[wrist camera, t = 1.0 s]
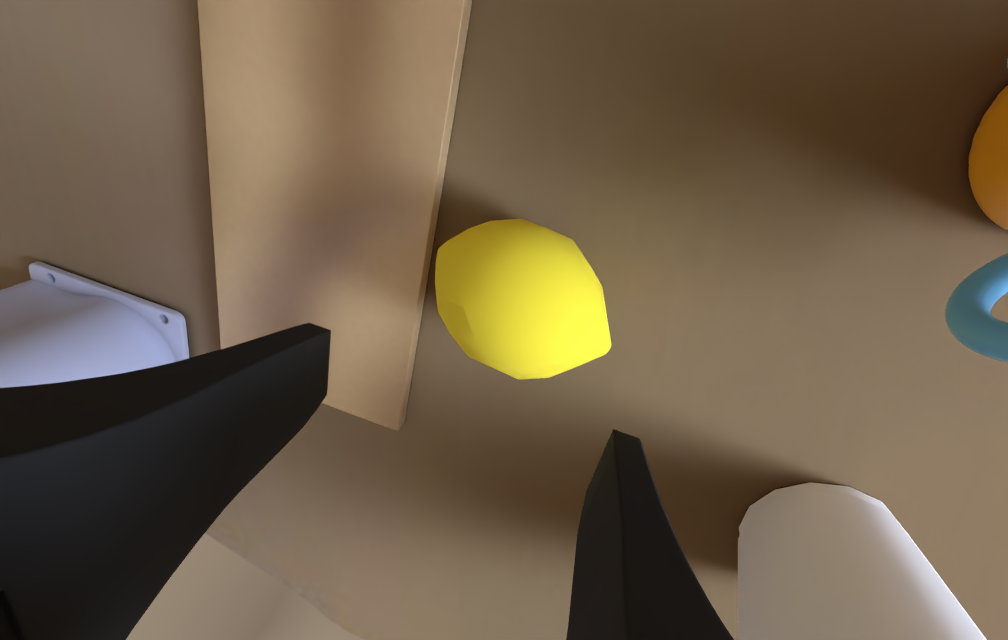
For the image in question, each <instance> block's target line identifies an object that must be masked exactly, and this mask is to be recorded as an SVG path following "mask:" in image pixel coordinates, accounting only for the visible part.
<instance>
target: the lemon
mask: <svg viewBox="0 0 1008 640" xmlns="http://www.w3.org/2000/svg"><path fill="white" fill-rule="evenodd" d="M435 288H436V298H437V308H438V313H439V314H440V316H441V318H442V320H443V322H444V324H445V325H446V327H447V329H448V331H449V333H450V334H451V335H452V337H453V338H454V339H455V340H456V342H457V343H458V344H459V345H460V347H461V348H462V349H463V351H464V352H465V353H466V354H467V356H468V357H470V358H473V359H475V360H477V361H479V362H481V363H483V364H486V365H488V366H490V367H492V368H494V369H497V370H499V371H501V372H503V373H505V374H508V375H510V376H512V377H514V378H516V379H535V378H549V377H552V376H554V375H557V374H560V373H562V372H565V371H568V370H570V369H572V368H575V367H577V366H580V365H582V364H584V363H587V362H589V361H591V360H594V359H596V358H598V357H601V356H603V355H605V354H606V353H607V352H608V351H609V349H610V347H611V339H610V333H609V326H608V320H607V313H606V307H605V301H604V295H603V288H602V285H601V284H600V282H599V280H598V278H597V277H596V275H595V273H594V271H593V270H592V268H591V266H590V265H589V263H588V262H587V260H586V259H585V257H584V256H583V254H582V253H581V251H580V250H579V248H578V247H577V245H576V244H575V242H574V241H573V240H572V239H570V238H568V237H565V236H563V235H561V234H559V233H557V232H554V231H552V230H550V229H548V228H545V227H543V226H540V225H537V224H534V223H532V222H529V221H526V220H523V219H508V220H495V221H489V222H486V223H483V224H480V225H477V226H474V227H471V228H469V229H467V230H465V231H464V232H462V233H460V234H458V235H457V236H455V237H453V238H451V239H450V240H448V241H447V242H445V243H444V244H443V245H442V246H441V247H440V248H439V249H438V252H437V257H436V269H435Z"/></svg>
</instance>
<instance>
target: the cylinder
mask: <svg viewBox="0 0 1008 640" xmlns="http://www.w3.org/2000/svg"><path fill="white" fill-rule="evenodd" d="M1007 67H1008V58H1007ZM969 179H970V184H971V188H972V192H973V195H974V197H975V199H976V201H977V203H978V205H979V206H980V208H981V209H982V211H983V212H984V213H985V214H986V215H987V216H988V217H989V218H990V219H991V220H992V221H993V222H994V223H996V224H997V225H999V226H1000V227H1002V228H1003V229H1005V230H1007V231H1008V85H1007V86H1006V87H1005V88H1004V89H1003V90H1002V91H1001V92H1000V93H999V94H998V96H997V97H996V99H995V100H994V102H993V103H992V105H991V106H990V107H989V109H988V110H987V111H986V113H985V114H984V116H983V118H982V120H981V122H980V125H979V127H978V129H977V131H976V133H975V135H974V138H973V142H972V147H971V150H970V154H969ZM1007 292H1008V254H1005V255H1003V256H1001V257H999V258H997V259H995V260H993V261H991V262H989V263H987V264H986V265H984V266H982V267H981V268H979V269H978V270H976V271H975V272H973V273H972V274H971V275H969V276H968V277H967V278H966V279H964V280H963V281H962V282H961V283H960V284H959V285H958V286H957V288H956V289H955V290H954V291H953V293H952V294H951V296H950V298H949V300H948V303H947V306H946V322H947V325H948V327H949V329H950V331H951V332H952V334H953V335H954V336H955V337H956V338H957V339H958V340H959V341H960V342H961V343H962V344H964V345H965V346H967V347H968V348H970V349H972V350H973V351H975V352H977V353H980V354H982V355H985V356H987V357H990V358H993V359H997V360H1000V361H1004V362H1008V323H1005V322H1002V321H1000V320H998V319H996V318H994V317H993V316H992V315H991V308H992V306H993V305H994V303H995V302H996V301H997V300H998V299H999V298H1001V297H1002V296H1003V295H1004V294H1006V293H1007Z"/></svg>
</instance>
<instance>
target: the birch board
mask: <svg viewBox="0 0 1008 640" xmlns="http://www.w3.org/2000/svg"><path fill="white" fill-rule="evenodd" d="M197 3H198V18H199V33H200V47H201V62H202V77H203V92H204V107H205V122H206V137H207V151H208V166H209V181H210V196H211V211H212V226H213V241H214V255H215V270H216V285H217V300H218V315H219V330H220V345H221V349H224V348H228V347H231V346H234V345H237V344H240V343H244V342H247V341H250V340H253V339H256V338H259V337H263V336H266V335H269V334H272V333H275V332H278V331H281V330H284V329H288V328H291V327H294V326H298V325H302V324H306V323H312V324H315V325H317V326H320V327H323V328H326V329H329V330H331V340H330V356H329V373H328V389H327V396H326V397H325V398H324V400H323V401H322V403H323V404H325V405H328V406H331V407H334V408H336V409H339V410H342V411H344V412H347V413H350V414H352V415H355V416H358V417H360V418H363V419H366V420H368V421H371V422H374V423H377V424H379V425H382V426H385V427H387V428H390V429H393V430H395V431H399V429H400V428H401V426H402V425H403V424H404V422H405V416H406V410H407V404H408V397H409V391H410V385H411V379H412V373H413V366H414V360H415V354H416V348H417V342H418V335H419V329H420V323H421V317H422V311H423V304H424V298H425V292H426V286H427V280H428V273H429V267H430V261H431V255H432V249H433V242H434V236H435V230H436V224H437V217H438V211H439V205H440V199H441V193H442V186H443V180H444V174H445V168H446V162H447V155H448V149H449V143H450V137H451V131H452V124H453V118H454V112H455V106H456V100H457V93H458V87H459V81H460V75H461V69H462V62H463V56H464V50H465V44H466V38H467V31H468V25H469V19H470V13H471V6H472V0H197Z"/></svg>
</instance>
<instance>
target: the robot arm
mask: <svg viewBox="0 0 1008 640" xmlns="http://www.w3.org/2000/svg"><path fill="white" fill-rule="evenodd" d="M29 273H30V276H31V280H28V281H25V282H22V283H20V284H17V285H14V286H11V287H8V288H5V289H2V290H0V640H126V638H127V637H128V635H129V634H130V632H131V631H132V629H133V628H134V626H135V625H136V624H137V622H138V621H139V620H140V618H141V617H142V615H143V614H144V613H145V611H146V610H147V609H148V607H149V606H150V604H151V603H152V602H153V600H154V599H155V597H156V596H157V595H158V593H159V592H160V590H161V589H162V588H163V586H164V585H165V584H166V582H167V581H168V580H169V578H170V577H171V575H172V574H173V573H174V572H175V570H176V569H177V568H178V567H179V565H180V564H181V563H182V561H183V560H184V559H185V557H186V556H187V555H188V553H189V552H190V551H191V550H192V548H193V547H194V546H195V544H196V543H197V542H198V541H199V539H200V538H201V537H202V535H203V534H204V533H205V532H206V531H207V529H208V528H209V527H210V526H211V524H212V523H213V522H214V521H215V520H216V518H217V517H218V516H219V515H220V513H221V512H222V511H223V510H224V508H225V507H226V506H227V505H228V504H229V503H230V502H231V501H232V500H233V498H234V497H235V496H236V495H237V494H238V493H239V492H240V491H241V490H242V489H243V488H244V487H245V486H246V485H247V484H248V483H249V482H250V481H251V480H252V479H253V478H254V477H255V476H256V475H257V474H258V473H259V472H260V471H261V470H262V469H263V468H264V467H265V466H266V465H267V464H268V463H269V462H270V461H271V459H272V458H273V457H274V456H275V455H276V454H277V453H278V452H279V451H280V450H281V449H282V448H283V447H284V446H285V445H286V444H287V443H288V442H289V441H290V440H291V439H292V438H293V437H294V436H295V435H296V434H297V433H298V432H299V431H300V430H301V429H302V428H303V427H304V425H305V424H306V423H307V421H308V420H309V419H310V418H311V416H312V415H313V414H314V412H315V411H316V410H317V408H318V407H319V405H320V404H321V403H322V401H323V400H324V398H325V397H326V396H327V389H328V373H329V356H330V340H331V330H329V329H326V328H323V327H320V326H317V325H315V324H312V323H306V324H302V325H298V326H294V327H291V328H288V329H284V330H281V331H278V332H275V333H272V334H269V335H266V336H263V337H259V338H256V339H253V340H250V341H247V342H244V343H240V344H237V345H234V346H231V347H228V348H224V349H221V350H217V351H214V352H210V353H206V354H203V355H199V356H195V357H192V358H189V348H188V339H187V329H186V321H185V318H184V316H183V315H182V314H181V313H179V312H178V311H175V310H172V309H170V308H167V307H164V306H161V305H159V304H156V303H153V302H150V301H148V300H145V299H142V298H139V297H136V296H134V295H131V294H128V293H125V292H123V291H120V290H117V289H114V288H112V287H109V286H106V285H103V284H100V283H98V282H95V281H92V280H89V279H87V278H84V277H81V276H78V275H76V274H73V273H70V272H67V271H64V270H62V269H59V268H56V267H53V266H51V265H48V264H45V263H42V262H38V261H37V262H34V263H31V264H30V265H29ZM566 640H734V639H733V638H732V636H731V635H730V633H729V632H728V630H727V629H726V627H725V626H724V624H723V623H722V621H721V620H720V618H719V616H718V615H717V613H716V611H715V610H714V608H713V607H712V605H711V603H710V602H709V600H708V598H707V596H706V594H705V593H704V591H703V589H702V587H701V586H700V584H699V582H698V580H697V578H696V576H695V574H694V572H693V571H692V569H691V567H690V565H689V563H688V561H687V559H686V557H685V555H684V552H683V550H682V548H681V546H680V544H679V542H678V540H677V537H676V535H675V533H674V531H673V528H672V526H671V524H670V521H669V519H668V516H667V514H666V511H665V509H664V507H663V504H662V502H661V499H660V496H659V494H658V491H657V488H656V486H655V483H654V480H653V477H652V474H651V471H650V468H649V465H648V462H647V459H646V456H645V452H644V449H643V446H642V443H641V441H640V439H639V438H637V437H634V436H631V435H628V434H625V433H622V432H619V431H617V430H614V429H613V431H612V433H611V436H610V438H609V440H608V443H607V445H606V447H605V450H604V452H603V454H602V456H601V459H600V461H599V463H598V466H597V468H596V470H595V473H594V475H593V477H592V480H591V482H590V484H589V487H588V489H587V492H586V496H585V501H584V505H583V510H582V514H581V519H580V523H579V528H578V535H577V544H576V554H575V564H574V574H573V584H572V594H571V604H570V615H569V625H568V632H567V639H566Z"/></svg>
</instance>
